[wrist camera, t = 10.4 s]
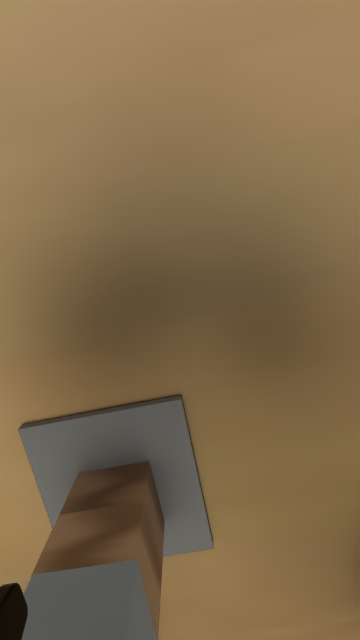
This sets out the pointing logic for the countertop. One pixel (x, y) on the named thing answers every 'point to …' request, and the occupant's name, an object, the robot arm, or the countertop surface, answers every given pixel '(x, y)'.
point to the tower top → (106, 545)
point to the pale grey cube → (89, 604)
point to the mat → (125, 461)
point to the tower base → (119, 494)
